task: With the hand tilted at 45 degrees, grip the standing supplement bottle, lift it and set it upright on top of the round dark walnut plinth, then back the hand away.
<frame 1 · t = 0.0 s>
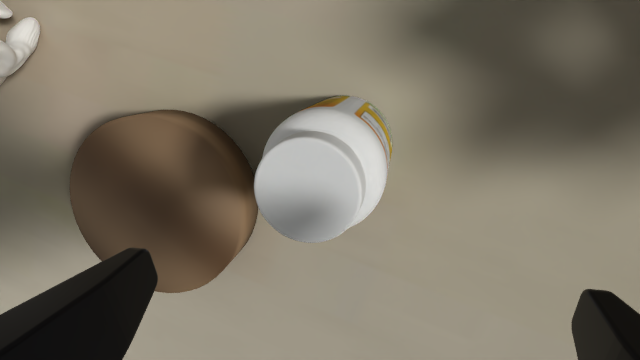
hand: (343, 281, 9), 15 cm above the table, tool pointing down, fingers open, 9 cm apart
plinth: (178, 194, 27), on the table
supplement bottle: (346, 141, 24), on the table
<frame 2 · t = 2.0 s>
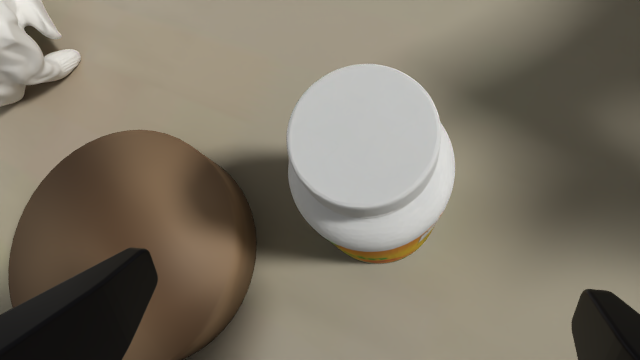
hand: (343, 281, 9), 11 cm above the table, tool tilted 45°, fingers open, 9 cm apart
plinth: (154, 251, 21), on the table
supplement bottle: (378, 208, 20), on the table
white lumpy figure: (37, 44, 27), on the table
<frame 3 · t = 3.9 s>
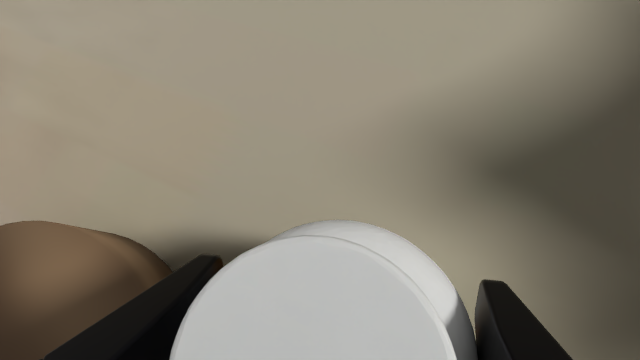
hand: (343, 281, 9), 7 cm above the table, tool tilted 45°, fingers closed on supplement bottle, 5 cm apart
supplement bottle: (363, 324, 15), on the table, touching gripper
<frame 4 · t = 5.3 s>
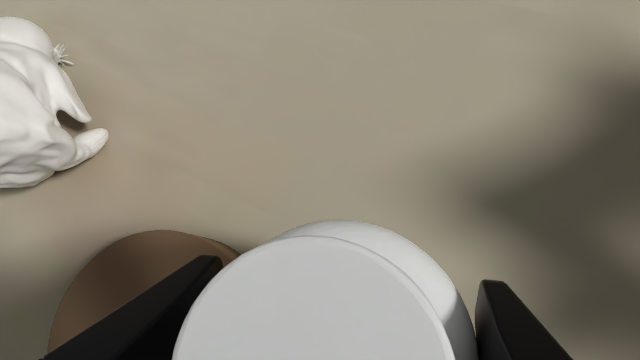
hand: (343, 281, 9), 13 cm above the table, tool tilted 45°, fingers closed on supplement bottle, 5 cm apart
plinth: (180, 337, 22), on the table
supplement bottle: (366, 323, 15), point 6 cm above the table, touching gripper
white lumpy figure: (65, 117, 28), on the table
when the fingers open (11 cm above the table, at t = 7.0 s): supplement bottle drops 1 cm, resting on plinth.
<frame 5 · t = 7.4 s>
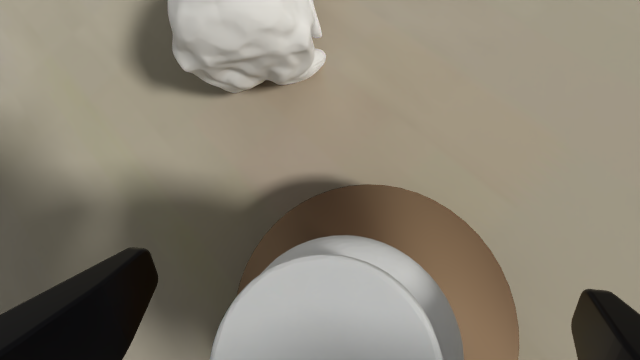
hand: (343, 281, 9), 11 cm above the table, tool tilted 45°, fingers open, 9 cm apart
plinth: (371, 316, 19), on the table
supplement bottle: (364, 324, 16), point 3 cm above the table, touching plinth
white lumpy figure: (273, 26, 24), on the table
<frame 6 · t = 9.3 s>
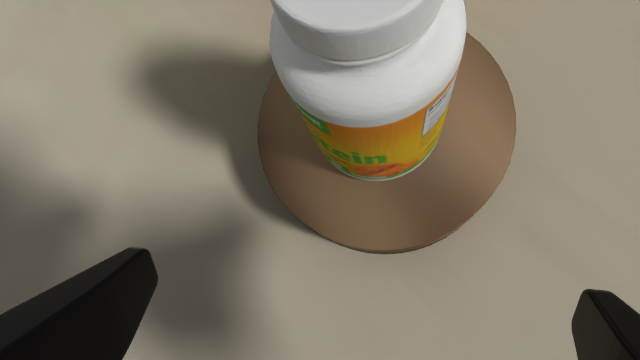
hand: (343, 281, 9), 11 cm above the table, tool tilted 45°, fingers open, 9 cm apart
plinth: (382, 143, 20), on the table
supplement bottle: (377, 124, 18), point 3 cm above the table, touching plinth
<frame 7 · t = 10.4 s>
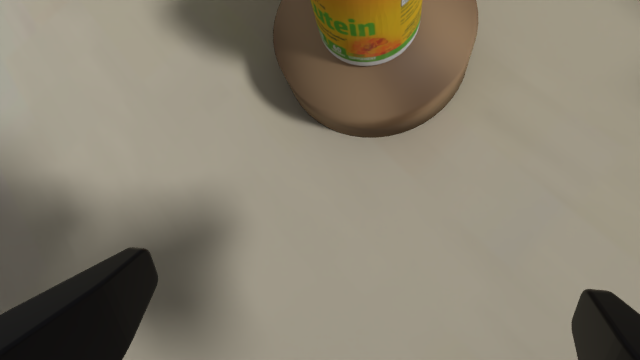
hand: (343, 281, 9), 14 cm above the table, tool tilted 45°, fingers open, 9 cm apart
plinth: (374, 52, 25), on the table
supplement bottle: (369, 26, 22), point 3 cm above the table, touching plinth
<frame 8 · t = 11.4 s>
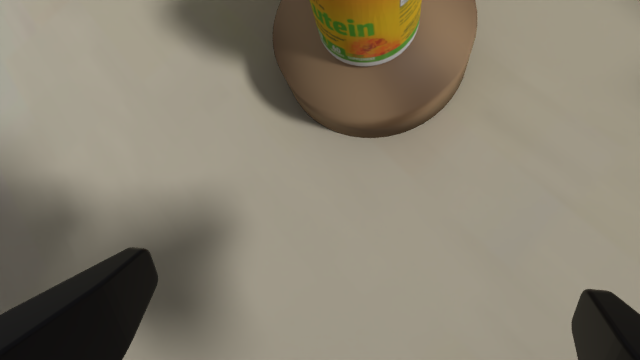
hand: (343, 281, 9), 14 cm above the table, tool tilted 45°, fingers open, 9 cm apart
plinth: (373, 53, 25), on the table
supplement bottle: (368, 27, 22), point 3 cm above the table, touching plinth
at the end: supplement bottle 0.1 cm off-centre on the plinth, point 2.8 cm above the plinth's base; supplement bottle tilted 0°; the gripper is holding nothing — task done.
